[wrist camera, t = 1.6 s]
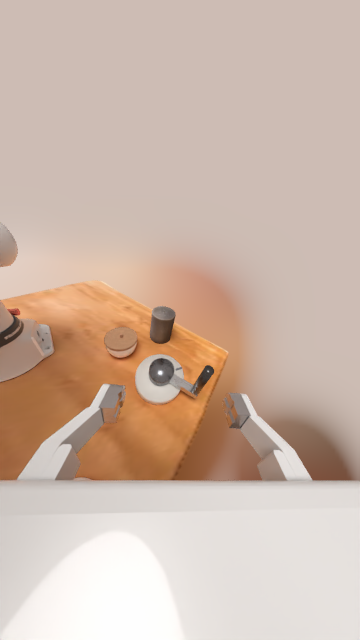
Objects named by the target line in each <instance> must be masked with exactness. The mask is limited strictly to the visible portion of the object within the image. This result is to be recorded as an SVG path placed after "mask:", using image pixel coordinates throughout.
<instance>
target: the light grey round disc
mask: <svg viewBox="0 0 360 640" xmlns="http://www.w3.org/2000/svg"><path fill="white" fill-rule="evenodd" d="M158 358H165V359H168V360H169V361H171V362H172V364H173V366H174V374H175V375H177V376H178V377H180V378H182V379H184V374H183V370H182V367H181V366H180V364H179V363H178V362H177V361H176V360H175V359H174V358H172V357H170V356H167V355H162V354H157V355H152V356H150V357H148V358H146V359H145V360H144V361H142V363H141V364H140V365H139V367H138V369H137V371H136V377H135V384H136V389H137V392H138V394H139V395H140V397H141V398H142V399H143V400H145V401H146V402H148V403H150V404H153V405H163V404H166V403H169V402H170V401H172V400H173V399H174V398H175V397H176V396H177V395H178V393H179V392H180V389H178V388H177V387H175V386H173V385H172V384H170V383H168V384H167V385H164V386H157V385H155V384H153V383H152V382H151V381H150V379H149V367H150V365H151V363H152V362H153V361H154V360H156V359H158Z"/></svg>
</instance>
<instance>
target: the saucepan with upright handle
mask: <svg viewBox="0 0 360 640" xmlns="http://www.w3.org/2000/svg"><path fill="white" fill-rule="evenodd" d="M213 373H214V369H213V368H212V367H211V366H209V365H207V366H205V368H204V370H203V371H202V373H201V374H200V376H199V378H198V379H197V381H196V382H195V384H194V385H192V384H190V383H189V382H187V381H185V380H184V379H182V378H180V377H178V376H177V375H175V374H174V366H173V364H172V362H171V361H169V360H168V359H165V358H158V359H156V360H154V361H153V362H152V363H151V365H150V367H149V379H150V381H151V382H152V383H153V384H155V385H157V386H164V385H167V384H168V383H170V384H172V385H173V386H175V387H177V388H178V389H180V390H181V391H183V392H185V393H186V394H188V395H190V396H191V397H193V398H194V399H195V398H196V397H197V395H198V394H199V392H200V391H201V390H202V388H203V387H204V385H205V384H206V383H207V381H208V380H209V379H210V377H211V376H212V375H213Z"/></svg>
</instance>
